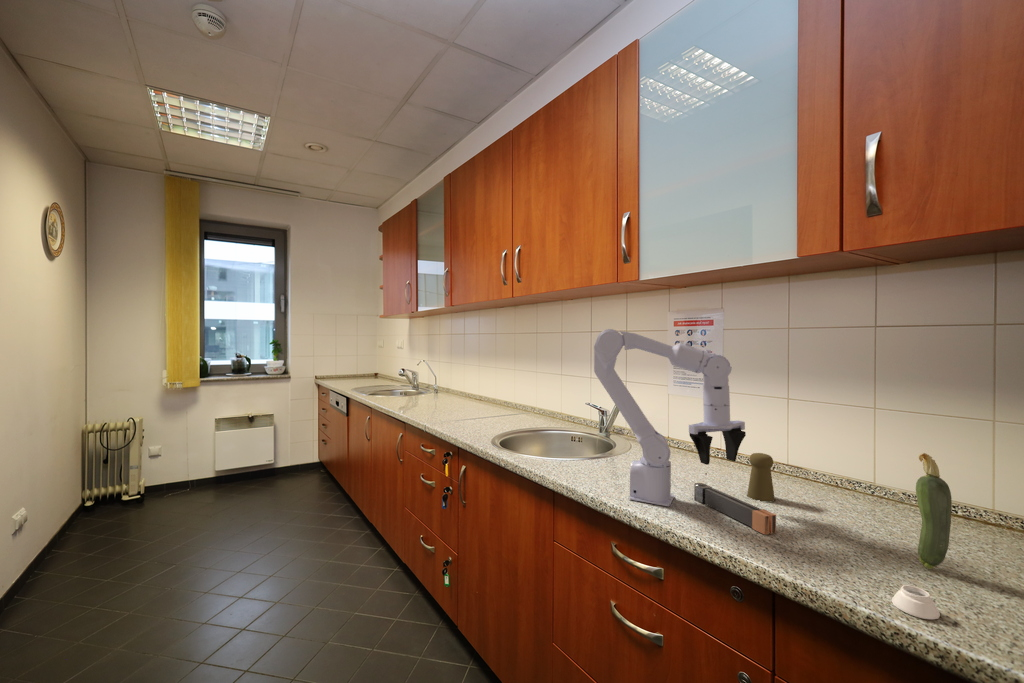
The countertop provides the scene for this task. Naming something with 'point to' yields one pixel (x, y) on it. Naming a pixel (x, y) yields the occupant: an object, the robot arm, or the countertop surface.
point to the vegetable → (933, 514)
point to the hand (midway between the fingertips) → (718, 461)
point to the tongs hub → (700, 492)
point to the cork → (761, 477)
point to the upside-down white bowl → (915, 602)
